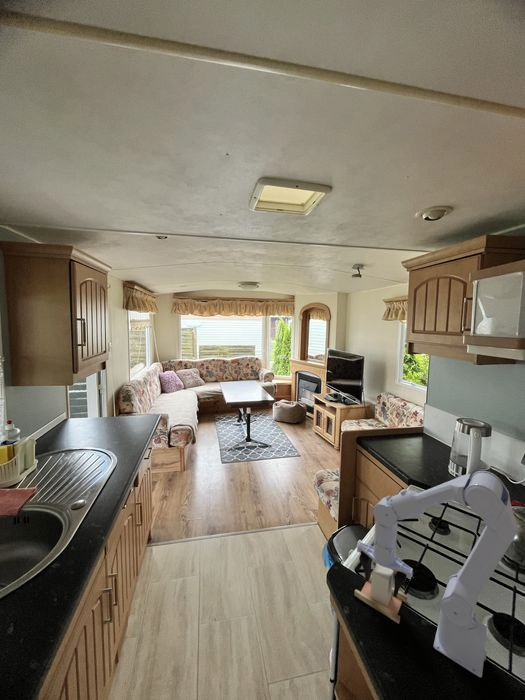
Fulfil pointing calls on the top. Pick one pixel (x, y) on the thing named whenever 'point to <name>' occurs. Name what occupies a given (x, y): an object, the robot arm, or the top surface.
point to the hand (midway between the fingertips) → (381, 586)
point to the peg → (381, 584)
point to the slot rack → (389, 611)
